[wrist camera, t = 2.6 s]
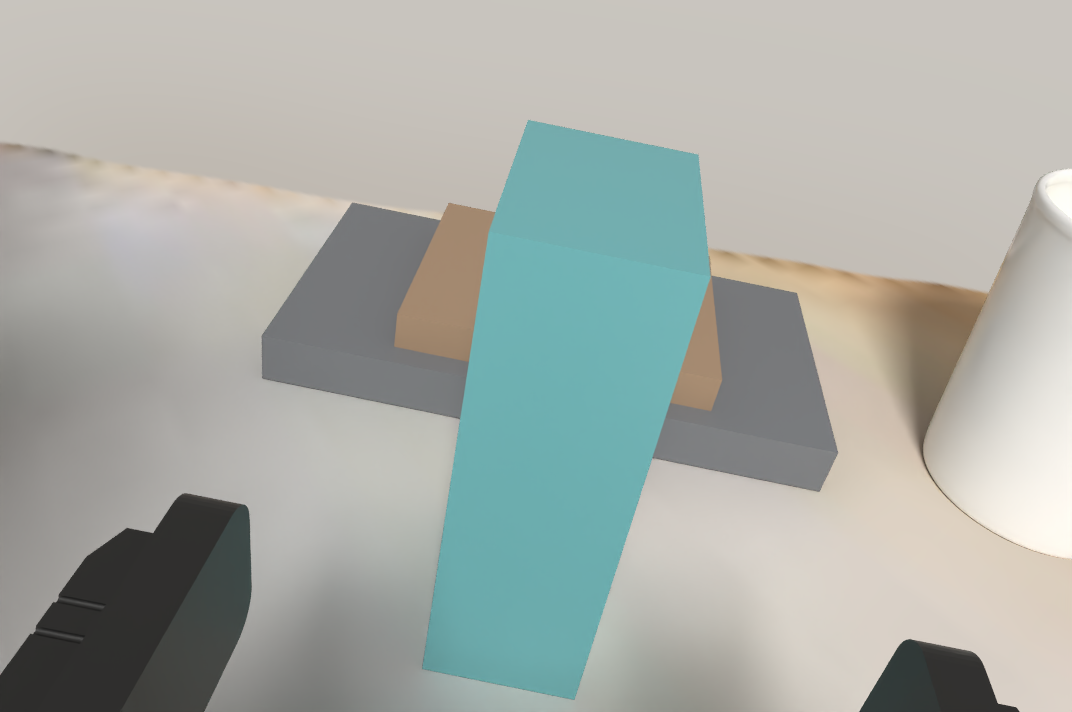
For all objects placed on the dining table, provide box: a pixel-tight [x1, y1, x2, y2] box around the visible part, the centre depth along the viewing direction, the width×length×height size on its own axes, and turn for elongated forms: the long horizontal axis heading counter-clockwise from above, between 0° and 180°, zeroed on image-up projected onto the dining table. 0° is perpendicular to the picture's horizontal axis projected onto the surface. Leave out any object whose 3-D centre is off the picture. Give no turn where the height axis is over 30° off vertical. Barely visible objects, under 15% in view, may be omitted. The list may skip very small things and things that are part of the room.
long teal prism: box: [422, 120, 711, 700], centre depth 24 cm, size 4×6×14 cm
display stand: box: [262, 203, 838, 491], centre depth 38 cm, size 22×12×4 cm, turn 84°
